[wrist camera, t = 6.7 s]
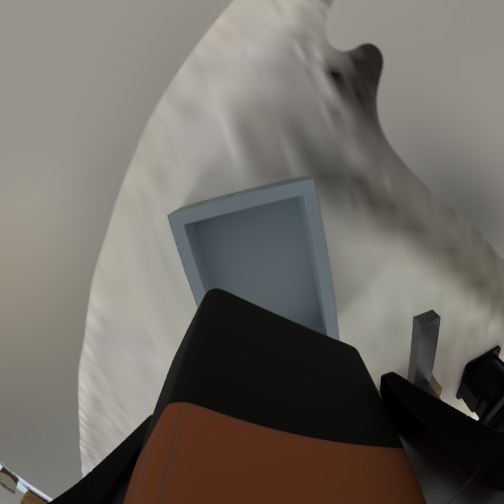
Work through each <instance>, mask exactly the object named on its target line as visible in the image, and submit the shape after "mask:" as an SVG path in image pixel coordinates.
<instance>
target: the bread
mask: <svg viewBox="0 0 504 504" xmlns="http://www.w3.org/2000/svg"><path fill="white" fill-rule="evenodd" d="M21 504H47V502H45V501H44V500H42V499H41V498H39V497H38V496H37V495H35V494H34V493H32V492H30V491H27V492H26V493H25V495H24V497H23V499H21Z"/></svg>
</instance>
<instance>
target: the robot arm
mask: <svg viewBox="0 0 504 504" xmlns="http://www.w3.org/2000/svg"><path fill="white" fill-rule="evenodd" d="M500 350H501V347H500V346H497V347H495V348H494V349H492V350H491V351H489V352H487V353H486V354H484V355H482V356H481V357H479V358H477V359H475V360H474V361H472V362H470V363H468V364H467V365H466V367H465V371H464V374H463V377H462V381H461V384H460V387H459V390H458V393H457V396H456V398H457V399H461V398H462V399H463V401H464V402H465V404H466V405H467V406H468V408H469V409H470V411H471V412H475V413H476V414H477V416H478V417H479V420H478V421H477V420H475V419H473V418H471V417H470V416H467V415H466V414H464V413H462V412H461V411H459V410H457V409H455V408H454V407H452V406H450V405H448V404H447V403H445V402H443V401H442V400H440V399H438V398H436V397H435V396H433V395H431V394H430V393H428V392H426V391H425V390H423V389H421V388H420V387H418V386H416V385H415V384H413V383H411V382H410V381H408V380H406V379H405V378H403V377H401V376H400V375H398V374H396V373H395V372H389V373H386V374H383V375H382V376H381V384H380V395H381V398H382V401H383V403H384V405H385V407H386V409H387V411H388V414H389V416H390V418H391V420H392V422H393V424H394V427H395V429H396V431H397V433H398V436H399V438H400V440H401V442H402V445H403V447H404V449H405V451H406V454H407V456H408V458H409V461H410V463H411V466H412V468H413V470H414V473H415V475H416V478H417V480H418V483H419V485H420V488H421V490H422V493H423V495H424V498H425V501H426V503H427V504H504V362H503V361H502V360H501V359H500V358H499V357H498V356H499V353H500ZM151 418H152V415H150V416H149V417H148V418H147V419H146V420H145V421H144V422H143V423H142V424H141V425H140V426H139V427H137V428H136V429H135V430H134V431H133V432H132V433H131V434H130V435H129V436H128V437H127V438H126V439H125V440H124V441H123V442H122V443H121V444H120V445H119V446H118V447H117V448H116V449H115V450H113V451H112V452H111V453H110V454H109V455H108V456H107V457H106V458H105V459H104V460H103V461H102V462H101V463H99V464H98V465H97V466H96V467H95V468H94V469H93V470H92V471H91V472H89V473H88V474H87V475H86V476H85V477H84V478H83V479H81V480H80V481H79V482H78V483H77V484H75V485H74V486H73V487H71V488H70V489H69V490H67V491H66V492H64V493H63V494H61V495H60V496H58V497H57V498H55V499H54V500H52V501H51V502H49V503H47V504H123V502H124V499H125V496H126V493H127V490H128V486H129V483H130V480H131V477H132V474H133V471H134V468H135V465H136V462H137V459H138V456H139V453H140V450H141V447H142V444H143V441H144V438H145V435H146V432H147V429H148V427H149V424H150V421H151Z"/></svg>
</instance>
